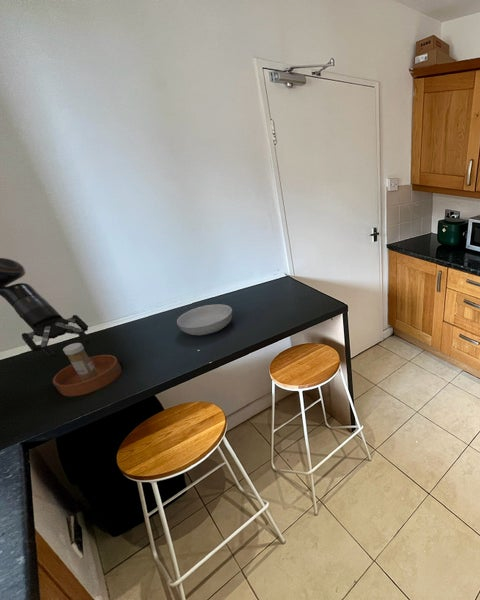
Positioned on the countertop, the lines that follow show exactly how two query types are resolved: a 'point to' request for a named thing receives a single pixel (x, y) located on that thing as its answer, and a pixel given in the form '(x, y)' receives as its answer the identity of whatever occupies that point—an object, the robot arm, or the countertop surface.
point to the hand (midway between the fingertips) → (72, 349)
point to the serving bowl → (205, 319)
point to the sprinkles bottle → (80, 361)
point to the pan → (74, 386)
